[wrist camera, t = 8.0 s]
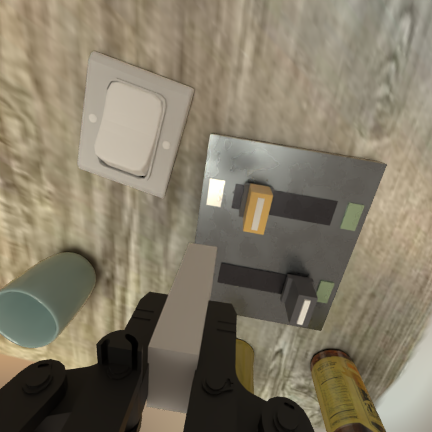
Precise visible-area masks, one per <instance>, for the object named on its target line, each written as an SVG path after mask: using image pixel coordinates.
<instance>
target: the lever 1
mask: <svg viewBox="0 0 432 432" xmlns="http://www.w3.org/2000/svg"><path fill="white" fill-rule="evenodd" d="M273 192H274V188H273V187H268V186H263V185H257V184H251V183H245V185H244V190H243V195H242V200H241V205H240V210H239V217H243V231H245V232H250V233H256V234H262V235H264V231H265V227H266V223H267V219H268V215H269V211H270V207H271V203H272V198H273Z"/></svg>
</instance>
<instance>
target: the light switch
mask: <svg viewBox="0 0 432 432" xmlns="http://www.w3.org/2000/svg"><path fill="white" fill-rule="evenodd" d="M193 94H194V89H193V88H192V87H189V86H186V85H184V84H181V83H178V82H176V81H173V80H170V79H168V78H165V77H162V76H160V75H157V74H155V73H152V72H149V71H147V70H144V69H141V68H139V67H136V66H133V65H131V64H128V63H125V62H123V61H120V60H117V59H115V58H112V57H110V56H107V55H104V54H102V53H99V52H96V51H92V52H91V54H90V57H89V60H88V69H87V78H86V88H85V97H84V107H83V116H82V125H81V135H80V144H79V153H78V163H77V164H78V167H79V168H80V169H82V170H85V171H87V172H90V173H93V174H96V175H99V176H101V177H104V178H107V179H110V180H113V181H115V182H118V183H121V184H124V185H126V186H129V187H132V188H135V189H138V190H140V191H143V192H146V193H149V194H152V195H154V196H157V197H160V198H164V196H165V193H166V190H167V186H168V183H169V179H170V176H171V172H172V169H173V165H174V162H175V158H176V155H177V151H178V148H179V144H180V141H181V137H182V134H183V130H184V127H185V123H186V120H187V116H188V113H189V109H190V105H191V102H192V98H193ZM102 160H103V161H104V162H105V163H106V164H107V165H106V164H105V163H104V162H103V161H102ZM108 165H109V166H108ZM116 168H117V169H116ZM119 169H120V170H119ZM130 173H131V174H130ZM147 173H148V174H147ZM146 175H147V176H146ZM139 176H146V177H139Z"/></svg>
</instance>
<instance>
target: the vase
mask: <svg viewBox="0 0 432 432" xmlns="http://www.w3.org/2000/svg"><path fill="white" fill-rule="evenodd" d="M253 362H254V352H253V349H252V348H251V346H250V345H249V344H247V343H246V342H244V341H242V340H239V339H236V365H235V368H236V374H237V377H238V379H239V381H240V383H241V384H242V385H243V386H244V387H245V388H246V389H247V390H248V391H249V392H251V393H252V394H254V384H253Z"/></svg>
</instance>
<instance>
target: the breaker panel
mask: <svg viewBox="0 0 432 432" xmlns="http://www.w3.org/2000/svg"><path fill="white" fill-rule="evenodd" d="M386 166H387V164H385V163H382V162H379V161H375V160H369V159H363V158H357V157H351V156H345V155H339V154H333V153H327V152H322V151H316V150H310V149H304V148H298V147H292V146H286V145H280V144H275V143H269V142H263V141H257V140H251V139H245V138H239V137H233V136H227V135H222V134H216V133H211V134H210V139H209V146H208V153H207V160H206V167H205V174H204V181H203V188H202V195H201V202H200V210H199V217H198V224H197V231H196V238H195V244H201V245H208V246H215V247H217V253H216V260H215V268H214V275H213V283H212V290H211V296H210V300H211V301H217V302H224V303H230V304H232V305H233V307H234V309H235V311H236V313H237V315H240V316H245V317H250V318H256V319H261V320H266V321H271V322H277V323H282V324H287V325H291V324H289V321H288V317H287V312H286V308H285V303H281V300H280V297H281V294H282V291H283V287H284V284H285V281H286V277H287V274H290V275H296V276H301V277H307V278H312V279H313V281H314V285H313V287H314V290H315V292H316V295H317V297H318V300H317V303H316V305H315V308H314V311H313V313H312V316H311V319H310V322H309V324H308V327H303V328H309V329H314V330H319V331H321V330H322V327H323V325H324V322H325V320H326V317H327V315H328V312H329V310H330V307H331V305H332V302H333V300H334V297H335V295H336V292H337V289H338V287H339V284H340V282H341V279H342V277H343V274H344V272H345V269H346V267H347V264H348V262H349V259H350V257H351V254H352V252H353V249H354V247H355V244H356V241H357V239H358V236H359V234H360V231H361V229H362V226H363V224H364V221H365V219H366V216H367V214H368V211H369V209H370V206H371V204H372V201H373V198H374V196H375V193H376V191H377V188H378V186H379V183H380V181H381V178H382V176H383V173H384V171H385V168H386ZM245 183H251V184H257V185H263V186H268V187H273V188H274V192H273V198H272V203H271V207H270V211H269V215H268V219H267V223H266V227H265V231H264V235H262V234H256V233H250V232H245V231H243V217H239V210H240V205H241V200H242V195H243V190H244V185H245ZM293 326H296V325H293ZM298 327H301V326H298Z"/></svg>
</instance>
